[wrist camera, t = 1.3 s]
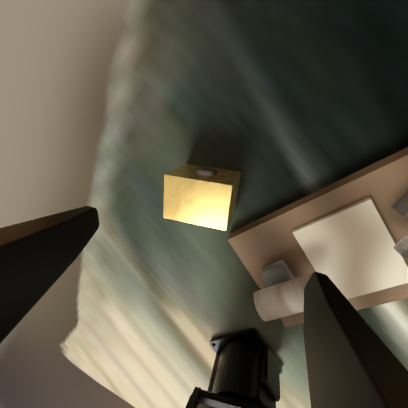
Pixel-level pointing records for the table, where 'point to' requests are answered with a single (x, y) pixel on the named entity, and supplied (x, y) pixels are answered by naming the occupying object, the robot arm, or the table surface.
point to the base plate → (331, 243)
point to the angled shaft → (404, 206)
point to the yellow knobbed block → (201, 195)
